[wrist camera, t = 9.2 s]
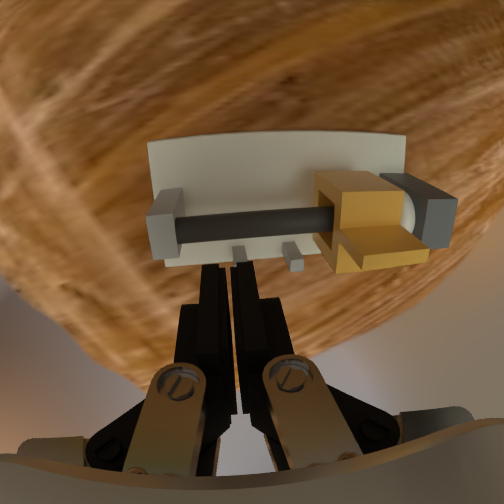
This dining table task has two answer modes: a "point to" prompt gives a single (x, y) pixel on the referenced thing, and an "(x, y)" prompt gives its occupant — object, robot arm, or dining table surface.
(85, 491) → the robot arm
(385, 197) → the sleeve
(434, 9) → the dining table surface
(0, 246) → the dining table surface
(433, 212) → the linear slide rail
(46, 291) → the dining table surface
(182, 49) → the dining table surface
